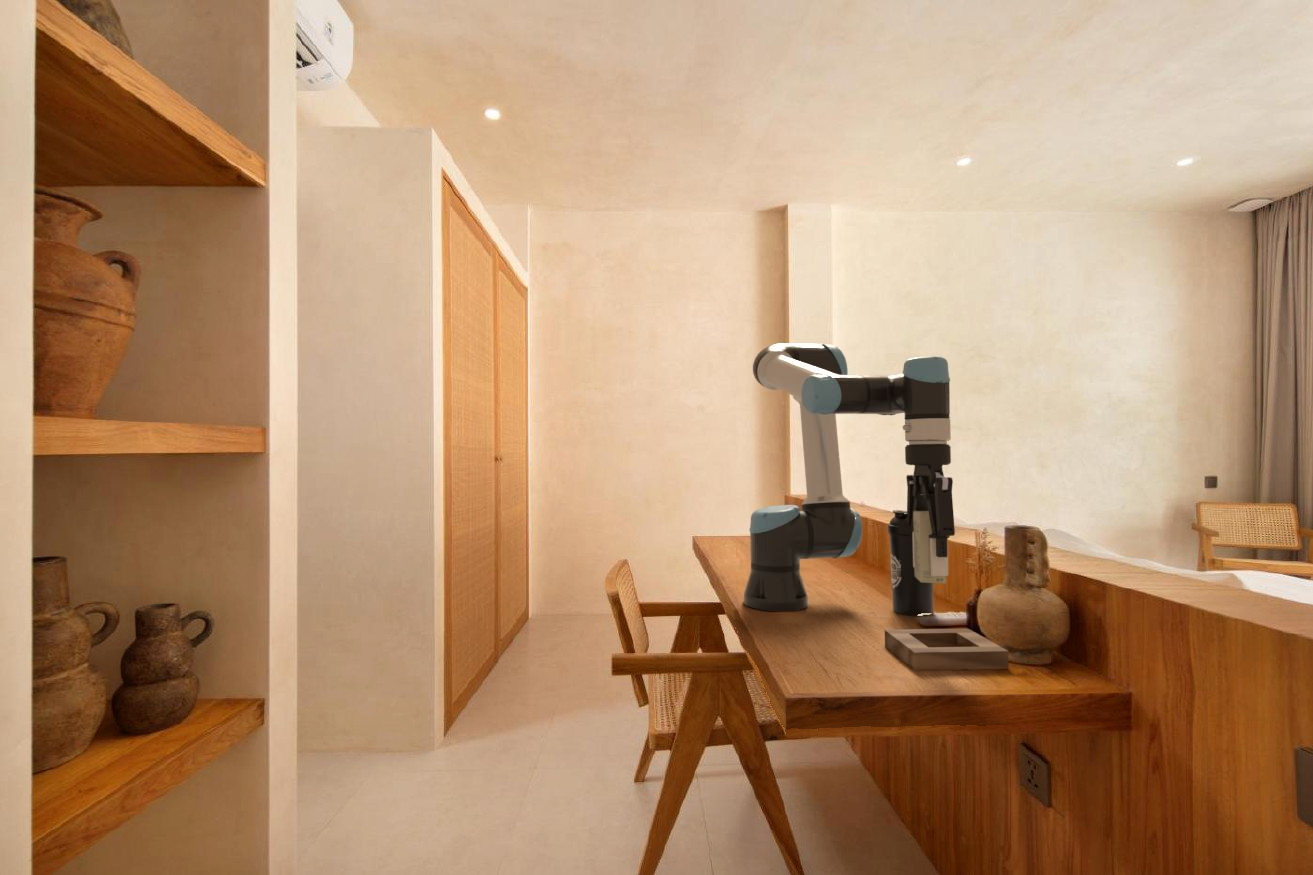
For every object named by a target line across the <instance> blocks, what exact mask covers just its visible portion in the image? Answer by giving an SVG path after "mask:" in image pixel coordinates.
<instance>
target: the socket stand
mask: <svg viewBox="0 0 1313 875" xmlns="http://www.w3.org/2000/svg"><path fill="white" fill-rule="evenodd" d="M884 646H885V647H886V648H887V649H888V650H889V651H891V652H892V653H893V654H894V655H895V656H897V657H898V658H899V659H900V660H902V662H904V663H905V664H906V665H908V666H909V667H910V668H911V667H912V668H911V669H912V670H914V671H957V670H958V671H959V670H960V669H969V670H971V671H972V670H974V671H975V670H1009V668H1010V667H1009V664H1010V663H1009V660H1010V658H1009V650H1007V649H1006V648H1003V647H1002V646H1000V645H998V644H997V643H995V642H993V641H991V640H989V639H987V638H986V637H984V636H982V635H981V634H979V633H977V632H975V631H973V630H971V629H969V628H928V629H927V628H925V629H924V628H922V629H921V628H919V629H918V628H913V629H912V628H911V629H904V628H903V629H884Z"/></svg>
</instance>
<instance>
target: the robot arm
mask: <svg viewBox="0 0 1313 875" xmlns="http://www.w3.org/2000/svg"><path fill="white" fill-rule="evenodd" d="M752 374H753V376H754V378H755V380H756V381H757V383H758V384H759V385H760V386H762V387H764V388H766V389H768V390H771V391H778V390H779V391H782V392H784V393H786V394H789V395H791V396H792V398H793V399H794V401H795V402H797V403H798V404H799V411H800V412H799V413H800V421H801V423H800V424H801V435H802V436H801V437H802V446H803V447H802V449H803V451H802V452H803V461H804V474H805V475H804V477H805V486H806V487H805V488H806V498H805V499H804V500H803V502H801V510H800V508H799V506H798V505H795V504H780V505H772V506H766V507H762V508H758V509H756V510H755V511H753V512H752V513H751V515H750V526H749V534H750V535H749V536H750V537H749V539H750V573H749V575H748V580H747V582H746V586H745V589H744V592H743V604H745V606H747V607H748V608H752V609H756V610H759V611H760V610H761V611H767V612H768V611H769V612H792V611H793V612H794V611H795V612H796V611H799V610H803V609H805V608H807V607H808V605H809V604H808V603H809V602H808V601H809V600H808V596H809V595H808V594H807V593H808V592H807V591H806V590H807V589H806V586H805V584H804V581H803V578H802V575H801V568H800V567H801V565H800V561H801V560H808V559H838V558H843V557H844V558H846V557H850V556H852V555H853V554H854V553H856V551H857V550H858V548H859V546H860V544H861V541H862V538H863V521H862V518H861V517H860V514H859V512H858V511H857V510H855V509H853V508H851V501H850V500H849V499H848V498H847V497H845V496H844V494H843V492H844V491H843V484H842V483H843V482H842V473H841V472H842V471H841V462H840V460H841V459H840V451H839V449H840V448H839V438H838V427H837V417H836V415H843V414H844V415H848V414H849V415H850V414H851V415H853V414H856V415H858V414H860V415H875V414H876V415H880V416H895V415H898V414H904V425H903V426H902V430H904V436H905V439H904V440H905V441H906V442H908V444H905V445H906V446H904V453H905V454H904V456H905V458H904V459H905V464H906V465H908V466H914V467H913V468H914V469H913V474H907V475H906V486H907V492H906V493H907V494H906V496H907V497H906V501H907V502H906V511H907V513H906V514H907V526H908V527H911V531H913V532H912V533H913V567H914V524H913V511H929V516H930V522H931V528H932V534H930V535H928V536H929V538H930V557H931V575H932V576H946V577H947V576H948V577H949V546H948V545H949V544H948V543H949V542H948V540H949V538H950V537H951V536H953V537H954V536H955V535H956V534H955V533H956V530H955V517H954V516H955V515H954V505H953V503H954V502H953V501H954V500H953V492H952V491H953V482H954V480H953V478H952V476H950V477H948V476H947V477H945V476H944V470H943V466H949V465H950V464H951V463H952V461H951V460H952V459H951V457H952V455H951V454H952V451H951V448H952V446H951V445H950V444H948V442H950V441H952V440H951V439H952V438H951V417H950V413H951V408H950V403H951V402H950V398H951V397H950V393H951V392H950V382H951V378H950V374H949V363H948V360H947V359H946V358H944V357H942V356H918V357H911V358H909V359H906V360H905V362H904V363H903V370H902V373H901V374H895V375H872V374H871V375H870V374H868V375H866V374H865V375H861V374H860V375H855V374H854V375H853V374H849V373H848V363H847V359H846V357H845V355H844V353H843V351H842V350H841V349H839V347H838V346H836V345H834V344H824V343H819V342H818V343H785V342H780V343H775V344H771V345H769V346H767V347H765V348H763V349H762V350H760V352H758V353H757V355H756V356H755V358H754V360H753V364H752Z"/></svg>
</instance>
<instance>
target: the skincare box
mask: <svg viewBox="0 0 1313 875" xmlns="http://www.w3.org/2000/svg"><path fill="white" fill-rule="evenodd" d="M913 524H914V571H915V577H916V578H917V579H918V580H919V581H920V582H925V583H934V584H947V576H932V575H931V557H930V538H929V536H928V535H930V534H932V528H931V522H930V516H929V511H913Z"/></svg>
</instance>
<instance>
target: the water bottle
mask: <svg viewBox="0 0 1313 875" xmlns="http://www.w3.org/2000/svg"><path fill="white" fill-rule="evenodd" d="M892 513H893V514H894V517H892V518H891V519H890V521H889V523H887V533H888V534H889V550H890V552H889V555H890V575H891V576H890V577H891V578H890V579H891V592H892V594H891V595H892V610H893V612H894V613H896V614H899V615H904V616H910V617H918V616H917V615H918V614H921V613H933V614H934V584H935V583H925V582H920V581H919V580H918V579H917V578H916V577H915V571H914V567H913V533H912V532H913V531H911V527H908V526H907V510H900V509H895V510H892Z"/></svg>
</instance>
